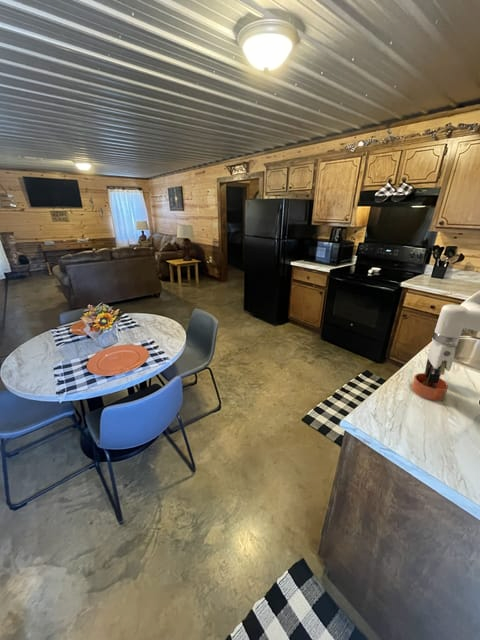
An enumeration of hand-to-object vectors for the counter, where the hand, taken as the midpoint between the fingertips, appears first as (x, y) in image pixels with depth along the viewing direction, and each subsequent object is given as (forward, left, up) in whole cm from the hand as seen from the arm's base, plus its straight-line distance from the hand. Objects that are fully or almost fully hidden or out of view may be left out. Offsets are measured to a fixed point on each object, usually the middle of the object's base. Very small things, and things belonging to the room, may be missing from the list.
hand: (431, 379), depth 103 cm
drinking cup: (-4, -10, -6) cm, 13 cm away
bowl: (0, -1, -6) cm, 6 cm away
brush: (0, 0, -6) cm, 6 cm away
